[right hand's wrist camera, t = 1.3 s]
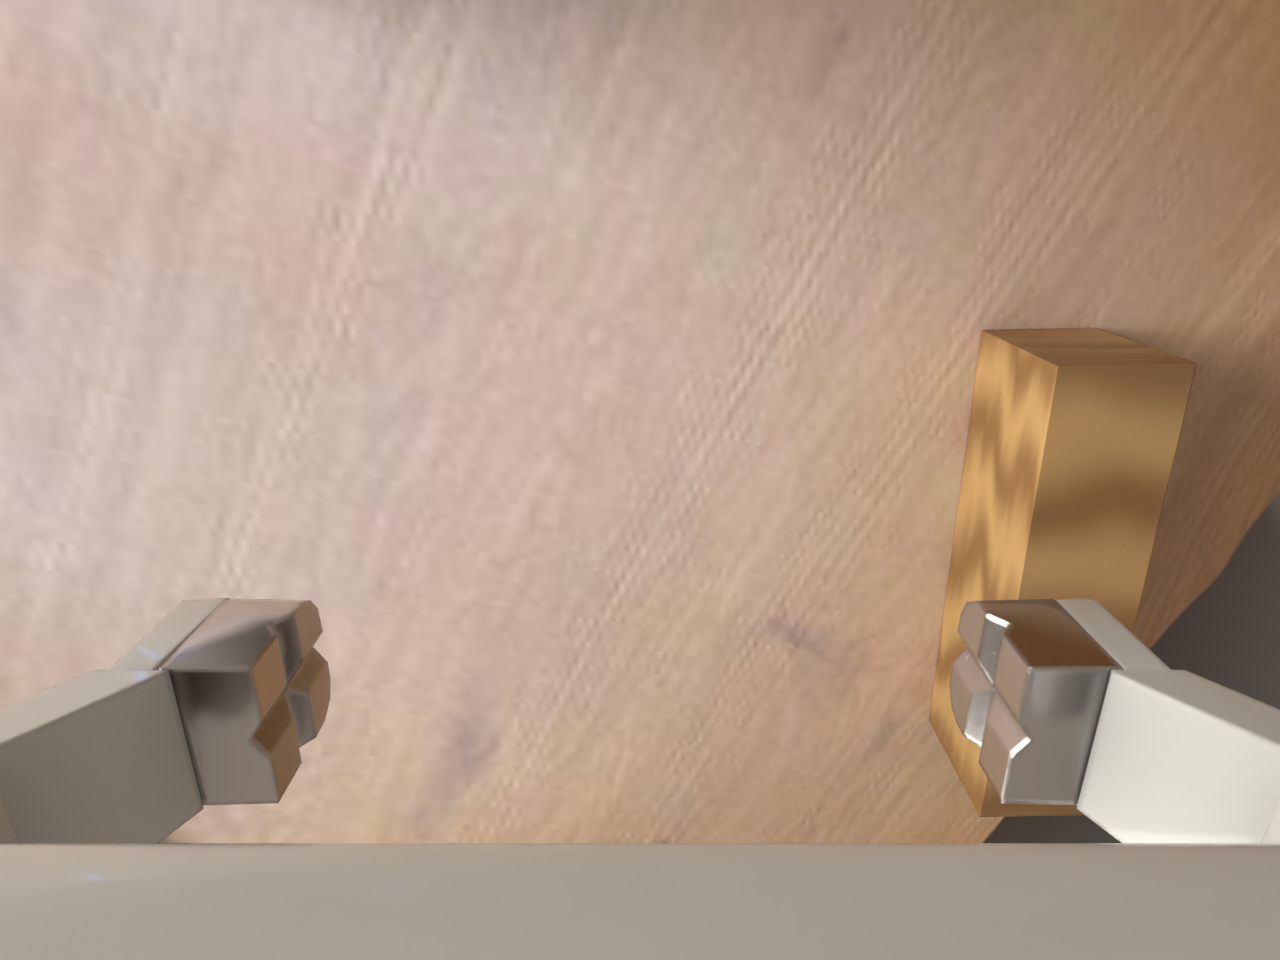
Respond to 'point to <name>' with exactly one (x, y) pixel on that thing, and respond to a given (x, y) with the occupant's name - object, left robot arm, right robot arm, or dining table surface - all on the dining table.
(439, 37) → the dining table surface
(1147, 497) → the box
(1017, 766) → the right robot arm
